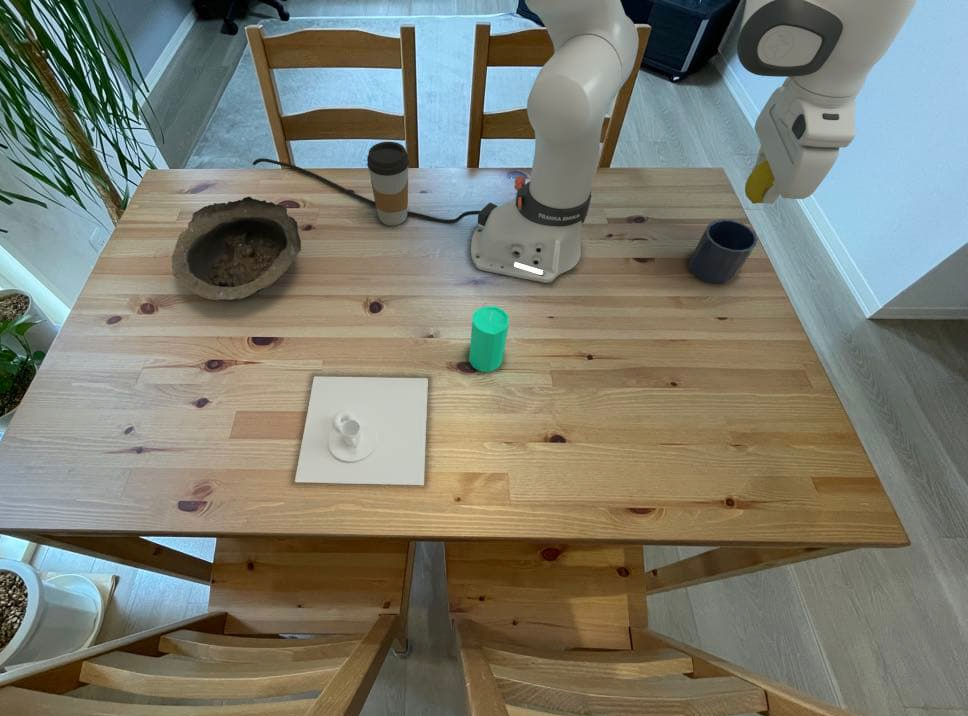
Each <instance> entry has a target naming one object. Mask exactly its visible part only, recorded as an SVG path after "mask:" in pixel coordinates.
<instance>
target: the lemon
mask: <svg viewBox="0 0 968 716" xmlns="http://www.w3.org/2000/svg"><path fill="white" fill-rule="evenodd" d="M752 170H753V169H752ZM752 170H751V173H750V174H749V176H748V177H747V179H746V182H745V186H744V193H745V196H746V198H747V199H748V200H749V201H750V202H751V203H752V204H754V205H755V204H764V203H763V200H762V197H761V196H762V194H763V193H764V191H765V189H766V188H771V187H772V186H773V182H774V180H775V178H774V176H773V173H772V171H771V168H770V166H769V164H768V161H767V160H766V161H764V162H762V163H761V164H759V165H758V166H757V167H756V168H755V169H754V170H753V171H752Z"/></svg>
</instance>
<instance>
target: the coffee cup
mask: <svg viewBox="0 0 968 716" xmlns="http://www.w3.org/2000/svg"><path fill="white" fill-rule="evenodd" d="M366 161H367V163H366V164H367V165H366V166H367V168H368V169H369V170H368V171H369V176H370V183H371V188H372V194H373V198H374V202H375V204H376V206H375V208H376V210H377V216H378V219H379V220H380V222H381V223H382V224H383V225H386V226H389V227H393V226H398V225H401V224H403V223H404V222H405V221H406V219H407V218H408V215H407V211H408V207H409V165H410V159H409V155H408V152H407V149H406V148H405V146H404V145H402V144H401V143H398V142H396V141H381V142H377V143H376V144H374V145H372V146H371V147H370V148H369V150H368V154H367V158H366Z"/></svg>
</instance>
